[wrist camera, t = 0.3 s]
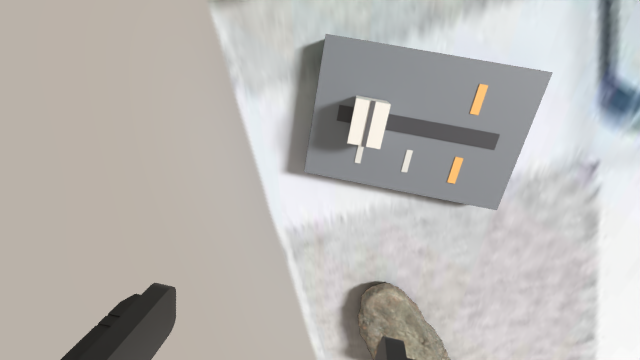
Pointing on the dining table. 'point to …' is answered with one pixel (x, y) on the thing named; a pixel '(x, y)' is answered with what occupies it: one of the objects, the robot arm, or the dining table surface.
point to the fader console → (424, 120)
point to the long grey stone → (397, 323)
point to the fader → (368, 122)
